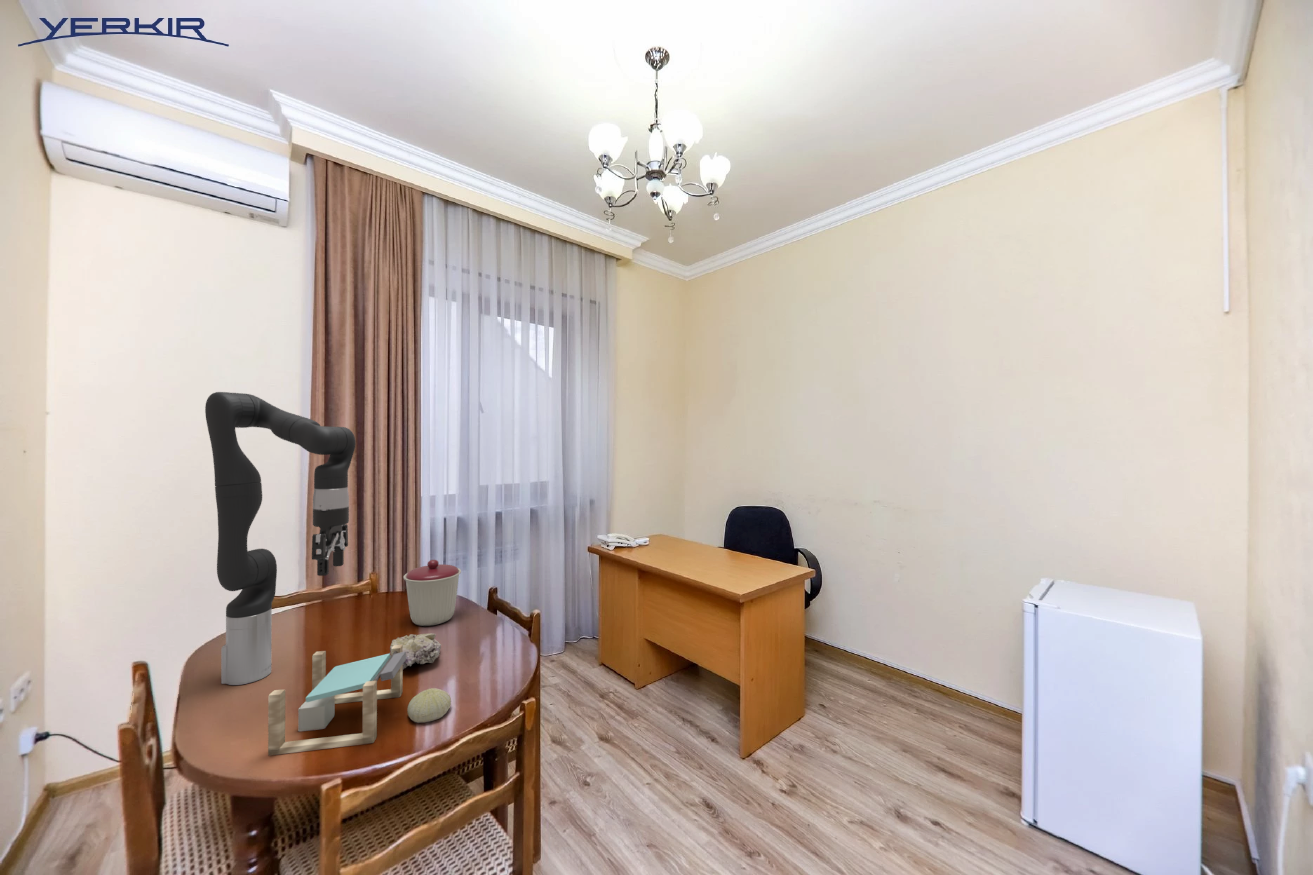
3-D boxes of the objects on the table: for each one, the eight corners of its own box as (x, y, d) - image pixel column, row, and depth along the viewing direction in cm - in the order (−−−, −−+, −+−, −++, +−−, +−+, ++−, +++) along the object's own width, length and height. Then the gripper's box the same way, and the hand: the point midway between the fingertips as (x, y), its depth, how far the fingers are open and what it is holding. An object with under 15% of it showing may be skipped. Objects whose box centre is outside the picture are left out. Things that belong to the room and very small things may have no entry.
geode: (421, 665, 144) (373, 678, 131) (419, 632, 147) (371, 642, 134) (461, 655, 138) (414, 667, 125) (457, 621, 141) (411, 630, 128)
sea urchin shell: (405, 723, 103) (407, 684, 108) (407, 734, 108) (409, 697, 114) (451, 713, 107) (451, 676, 112) (451, 724, 112) (450, 689, 117)
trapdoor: (409, 654, 117) (407, 647, 117) (390, 682, 103) (388, 675, 103) (336, 671, 113) (334, 665, 113) (306, 703, 100) (305, 696, 99)
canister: (468, 621, 165) (468, 560, 165) (411, 635, 153) (412, 570, 153) (450, 607, 179) (451, 551, 179) (397, 619, 167) (397, 559, 167)
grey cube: (324, 728, 104) (298, 731, 103) (334, 715, 109) (309, 718, 108) (324, 706, 104) (298, 708, 103) (334, 694, 109) (309, 696, 108)
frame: (268, 755, 95) (268, 695, 95) (316, 701, 115) (316, 651, 115) (373, 742, 100) (373, 685, 100) (402, 692, 119) (402, 644, 119)
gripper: (327, 502, 126) (327, 563, 126) (299, 510, 112) (299, 579, 112) (358, 501, 128) (358, 562, 128) (335, 509, 114) (335, 577, 114)
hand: (330, 570), depth 120 cm, fingers open, 8 cm apart
